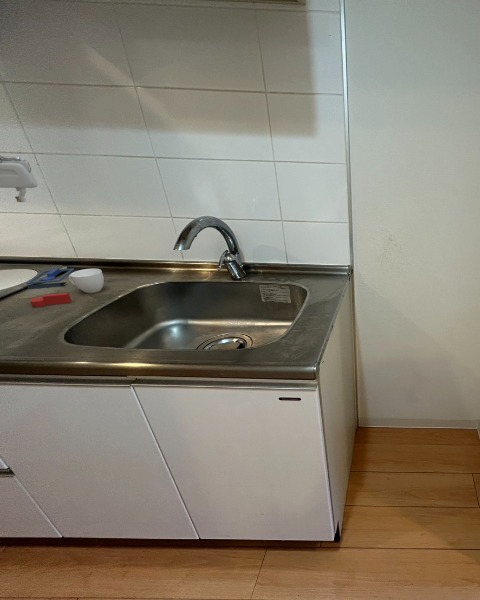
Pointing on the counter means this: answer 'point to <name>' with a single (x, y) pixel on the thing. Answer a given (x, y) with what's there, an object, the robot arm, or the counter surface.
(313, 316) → the counter surface
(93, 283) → the cup
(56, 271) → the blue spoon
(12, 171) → the robot arm
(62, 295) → the red stepped block
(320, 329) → the counter surface
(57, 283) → the dark blue open frame
